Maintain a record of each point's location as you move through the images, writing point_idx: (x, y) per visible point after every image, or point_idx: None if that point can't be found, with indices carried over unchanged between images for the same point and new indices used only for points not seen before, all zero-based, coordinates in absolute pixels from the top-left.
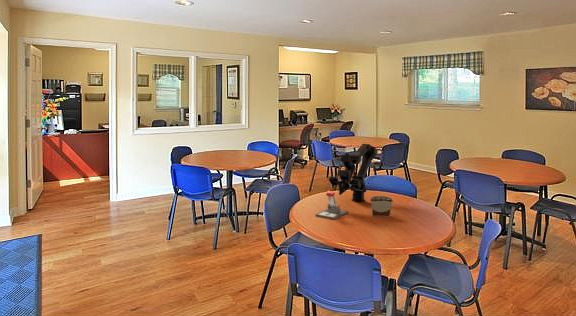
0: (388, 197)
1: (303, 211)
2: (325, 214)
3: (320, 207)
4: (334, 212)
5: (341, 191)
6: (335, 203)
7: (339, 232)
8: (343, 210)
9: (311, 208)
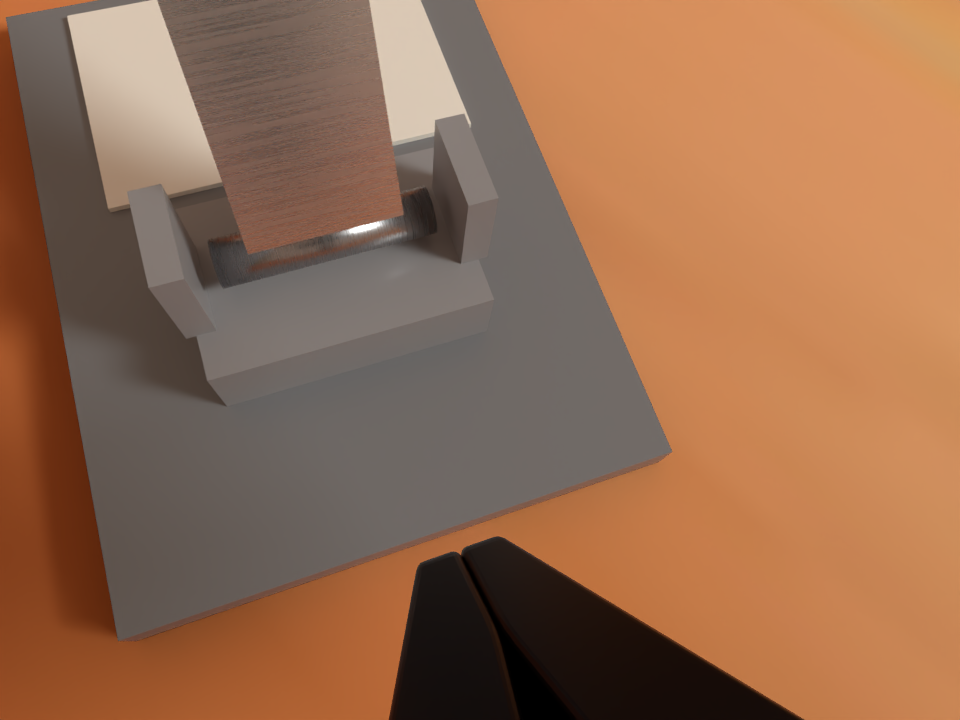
0: None
1: (808, 11)
2: None
3: (905, 424)
4: None
5: (411, 665)
6: (208, 138)
7: None
8: (241, 567)
9: (920, 229)
